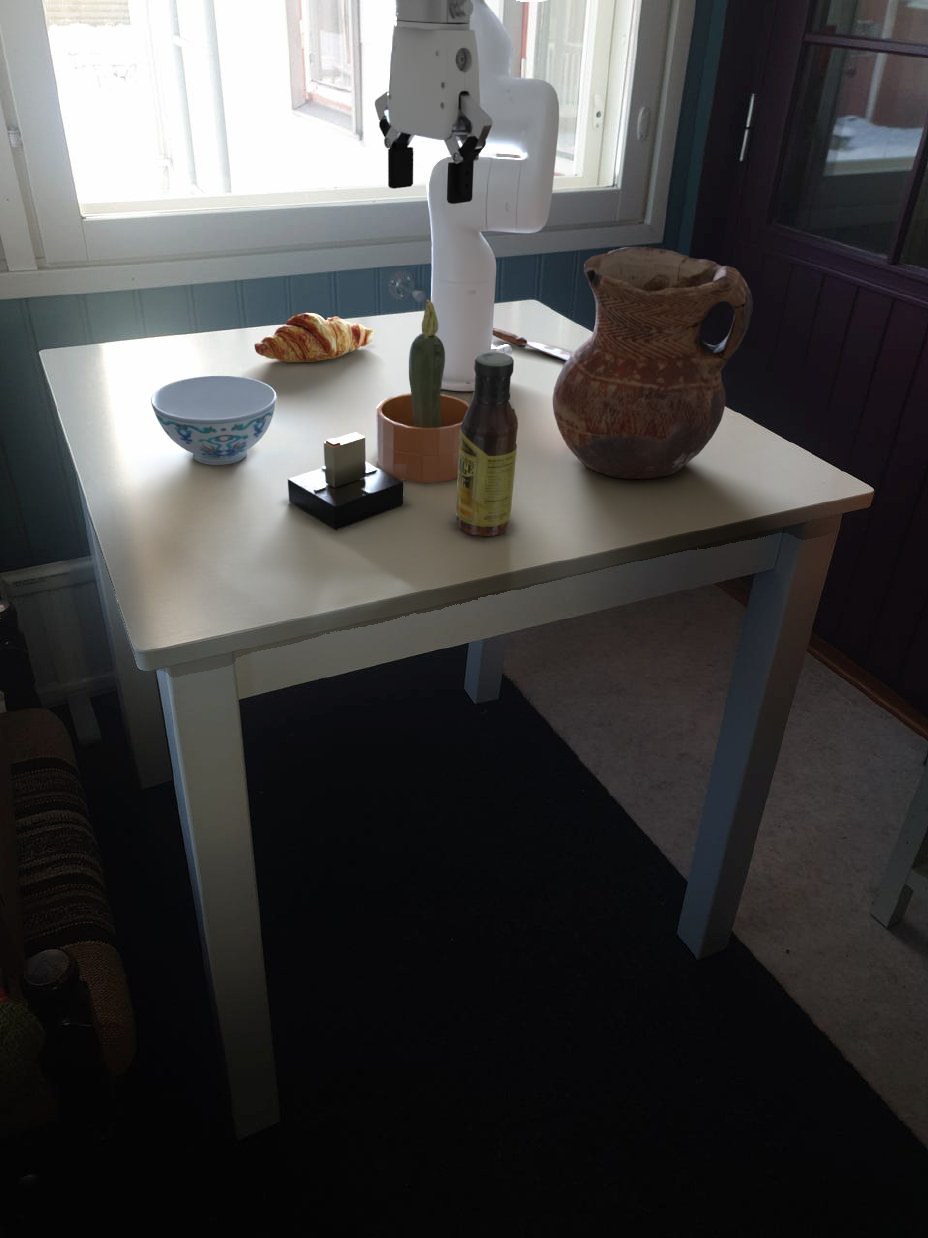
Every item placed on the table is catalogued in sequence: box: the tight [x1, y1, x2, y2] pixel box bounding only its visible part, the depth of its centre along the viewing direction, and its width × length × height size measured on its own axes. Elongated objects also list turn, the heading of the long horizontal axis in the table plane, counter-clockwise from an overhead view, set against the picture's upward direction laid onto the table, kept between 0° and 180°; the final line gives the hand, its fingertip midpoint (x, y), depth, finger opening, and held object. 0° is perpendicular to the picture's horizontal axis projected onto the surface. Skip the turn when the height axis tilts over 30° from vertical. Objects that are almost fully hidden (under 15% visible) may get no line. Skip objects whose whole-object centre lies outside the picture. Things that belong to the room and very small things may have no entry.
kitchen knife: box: [492, 327, 573, 362], centre depth 163 cm, size 21×2×5 cm
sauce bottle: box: [455, 352, 519, 537], centre depth 104 cm, size 7×6×20 cm
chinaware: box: [150, 375, 277, 466], centre depth 121 cm, size 15×15×8 cm
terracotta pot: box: [376, 392, 470, 484], centre depth 122 cm, size 12×12×7 cm
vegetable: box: [408, 298, 445, 428], centre depth 118 cm, size 4×4×20 cm
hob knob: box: [323, 432, 367, 488], centre depth 110 cm, size 5×2×5 cm, turn 134°
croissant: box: [254, 312, 375, 364], centre depth 155 cm, size 21×10×8 cm, turn 126°
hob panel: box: [287, 462, 405, 531], centre depth 112 cm, size 10×9×3 cm
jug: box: [552, 246, 754, 480], centre depth 120 cm, size 22×21×25 cm
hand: (429, 194), depth 106 cm, fingers open, 9 cm apart
